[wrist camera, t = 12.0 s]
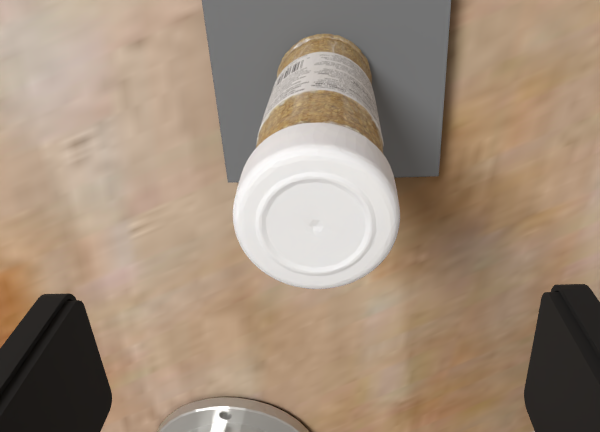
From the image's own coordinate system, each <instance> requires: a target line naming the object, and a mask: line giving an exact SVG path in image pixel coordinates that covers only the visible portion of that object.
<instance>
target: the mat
mask: <svg viewBox="0 0 600 432" xmlns="http://www.w3.org/2000/svg"><path fill="white" fill-rule="evenodd" d="M202 5H203V12H204V19H205V26H206V33H207V40H208V47H209V54H210V61H211V68H212V75H213V82H214V88H215V95H216V102H217V109H218V116H219V123H220V130H221V137H222V144H223V151H224V158H225V165H226V172H227V179H228V182H239V180H240V177H241V174H242V171H243V168H244V166H245V164H246V162H247V160H248V158H249V157H250V155H251V154H252V152H253V151H254V150H255V149H256V145H257V137H258V133H259V129H260V126H261V123H262V120H263V116H264V113H265V110H266V107H267V104H268V101H269V99H270V96H271V92H272V89H273V87H274V84H275V82H276V80H277V71H278V68H279V65H280V63H281V61H282V58H283V57H284V55H285V54H286V53H287V52H288V51H289V50H290V49H291V47H292V46H293V45H295V44H296V43H298V42H299V41H300V40H301V39H304V38H306V37H308V36H313V35H316V34H333V35H339V36H341V37H343V38H345V39H347V40H349V41H351V42H352V43H354V44H355V45H356V46H357V47H358V48H359V49H360V50H361V52H362V53H363V55H364V56H365V57H366V58H367V60H368V63H369V67H370V71H371V76H372V88H373V92H374V96H375V101H376V106H377V111H378V117H379V122H380V127H381V133H382V138H383V154H384V156H385V157H386V159H387V161H388V163H389V164H390V167H391V170H392V172H393V175H394V177H427V176H439V164H440V150H441V136H442V122H443V108H444V94H445V80H446V66H447V52H448V38H449V24H450V10H451V0H202Z"/></svg>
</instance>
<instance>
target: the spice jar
mask: <svg viewBox="0 0 600 432" xmlns="http://www.w3.org/2000/svg"><path fill="white" fill-rule="evenodd" d="M233 223H234V228H235V232H236V236H237V239H238V241H239V243H240V245H241V247H242V249H243V251H244V252H245V254H246V255H247V256H248V257H249V259H250V260H251V261H252V262H253V263H254V264H255V265H256V266H257V267H258V268H259V269H260V270H262V271H263V272H264V273H266V274H267V275H269V276H271V277H272V278H274V279H276V280H278V281H280V282H283V283H285V284H288V285H291V286H295V287H301V288H307V289H327V288H334V287H339V286H343V285H346V284H349V283H352V282H354V281H356V280H358V279H360V278H362V277H364V276H366V275H367V274H368V273H370V272H371V271H373V270H374V269H375V268H376V267H377V266H378V265H380V263H381V262H382V261H383V260H384V259H385V258H386V256H387V255H388V254H389V252H390V250H391V249H392V247H393V245H394V242H395V240H396V237H397V234H398V229H399V224H400V208H399V201H398V194H397V189H396V184H395V179H394V175H393V172H392V170H391V167H390V164H389V163H388V161H387V159H386V157H385V156H384V154H383V138H382V133H381V127H380V122H379V117H378V111H377V106H376V101H375V96H374V92H373V88H372V76H371V71H370V67H369V63H368V60H367V58H366V57H365V56H364V55H363V53H362V52H361V50H360V49H359V48H358V47H357V46H356V45H355V44H354V43H352V42H351V41H349V40H347V39H345V38H343V37H341V36H339V35H333V34H316V35H313V36H308V37H306V38H304V39H301V40H300V41H299V42H298V43H296V44H295V45H293V46H292V47H291V49H290V50H289V51H288V52H287V53H286V54H285V55H284V57H283V58H282V61H281V63H280V65H279V68H278V71H277V80H276V82H275V84H274V87H273V89H272V92H271V96H270V99H269V101H268V104H267V107H266V110H265V113H264V116H263V120H262V123H261V126H260V129H259V133H258V137H257V145H256V149H255V150H254V151H253V152H252V154H251V155H250V157H249V158H248V160H247V162H246V164H245V166H244V168H243V171H242V174H241V177H240V180H239V184H238V187H237V192H236V196H235V200H234V206H233Z"/></svg>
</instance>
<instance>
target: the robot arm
mask: <svg viewBox="0 0 600 432" xmlns="http://www.w3.org/2000/svg"><path fill="white" fill-rule="evenodd" d="M524 399H525V405H526V409H527V412H528V414H529V417H530V420H531V422H532V425H533V427H534V430H535V432H600V302H599V301H598V299H597V298H596V296H595V295H594V293H593V292H592V290H591V289H590V288H589V287H588V286H587V285H585V284H571V285H554V286H553V288H552V289H551V292H545V293H544V294H543V295H542V299H541V304H540V309H539V314H538V320H537V325H536V331H535V336H534V341H533V347H532V352H531V357H530V363H529V368H528V374H527V379H526V384H525V390H524ZM111 403H112V393H111V389H110V386H109V383H108V380H107V377H106V373H105V370H104V367H103V364H102V361H101V357H100V354H99V351H98V348H97V345H96V342H95V338H94V335H93V332H92V329H91V326H90V322H89V319H88V316H87V313H86V310H85V306H84V304H83V303H82V301H79V300H78V301H77V300H76V298H75V297H74V296H73V295H72V294H44V295H41V296H40V297H39V298H38V300H37V301H36V302H35V303H34V305H33V306H32V307H31V309H30V310H29V311H28V313H27V314H26V315H25V317H24V318H23V319H22V321H21V322H20V323H19V325H18V326H17V327H16V329H15V330H14V331H13V332H12V334H11V335H10V336H9V338H8V339H7V340H6V342H5V343H4V344H3V346H2V347H1V348H0V432H100V431H101V429H102V427H103V424H104V422H105V420H106V418H107V415H108V413H109V411H110V408H111ZM157 432H309V431H308V429H307V428H305V427H304V426H303V425H302V424H301V423H300V422H299V421H298V420H297V419H295V418H294V417H292V416H291V415H289V414H288V413H286V412H284V411H282V410H280V409H278V408H276V407H274V406H271V405H268V404H265V403H262V402H259V401H255V400H249V399H243V398H231V397H219V398H210V399H204V400H200V401H196V402H192V403H189V404H187V405H185V406H183V407H180V408H178V409H177V410H175V411H174V412H172V413H171V414H170V415H168V416H167V417H166V418H165V420H164V421H163V422H162V423H161V424H160V426H159V428H158V431H157Z"/></svg>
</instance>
